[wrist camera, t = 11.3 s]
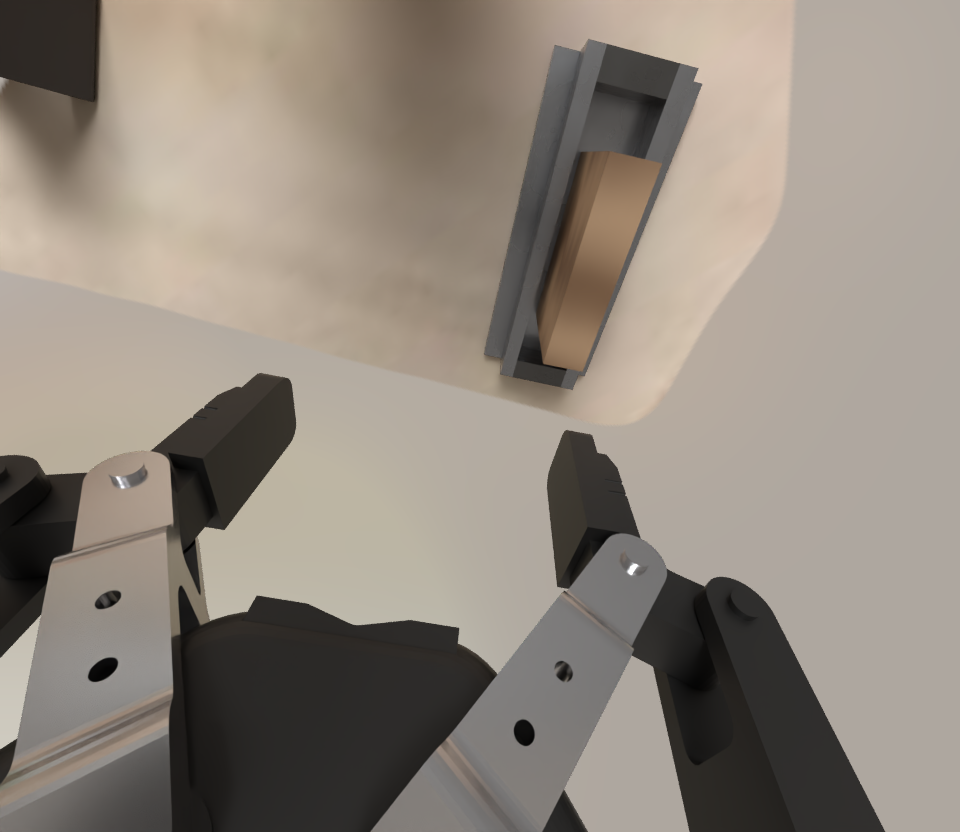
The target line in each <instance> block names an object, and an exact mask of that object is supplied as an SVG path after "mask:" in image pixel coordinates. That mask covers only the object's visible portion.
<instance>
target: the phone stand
mask: <svg viewBox="0 0 960 832" xmlns="http://www.w3.org/2000/svg"><path fill="white" fill-rule="evenodd" d="M95 33H96V0H0V77H3V78H6V79H10V80H14V81H17V82H21V83H25V84H28V85H32V86H36V87H39V88H43V89H47V90H50V91H54V92H58V93H61V94H65V95H69V96H72V97H76V98H80V99H83V100H87V101H91V102H94V73H95Z"/></svg>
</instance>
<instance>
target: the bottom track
mask: <svg viewBox="0 0 960 832" xmlns="http://www.w3.org/2000/svg"><path fill="white" fill-rule="evenodd" d="M697 71H698V68H695V67H691V66H688V65H684V64H680V63H676V62H673V61H669V60H665V59H661V58H658V57H654V56H650V55H646V54H643V53H639V52H635V51H631V50H627V49H624V48H620V47H616V46H612V45H609V44H605V43H601V42H597V41H594V40H590V39H588V41H587V42H586V44H585V45H584V47H583V48H582V49H581V51H576V50H572V49H568V48H564V47H561V46H557V45H555V46H554V49H553V53H552V58H551V62H550V66H549V71H548V75H547V80H546V84H545V88H544V93H543V97H542V101H541V106H540V110H539V115H538V119H537V123H536V128H535V132H534V137H533V141H532V145H531V150H530V154H529V158H528V163H527V167H526V172H525V176H524V180H523V185H522V189H521V193H520V198H519V202H518V207H517V211H516V215H515V220H514V224H513V228H512V233H511V237H510V242H509V246H508V250H507V255H506V259H505V264H504V268H503V272H502V277H501V281H500V285H499V290H498V294H497V299H496V303H495V307H494V312H493V316H492V320H491V325H490V329H489V334H488V338H487V342H486V347H485V352H484V355H489V356H494V357H498V358H501V370H500V374H501V375H506V376H510V377H515V378H520V379H524V380H529V381H534V382H538V383H543V384H548V385H552V386H557V387H562V388H567V389H571V390H573V387H574V385H575V382H576V379H577V377H578V375H582V376H585V374H586V371H587V369H588V366H589V364H590V361H591V359H592V356H593V354H594V351H595V349H596V347H597V344H598V342H599V339H600V337H601V334H602V332H603V329H604V327H605V324H606V322H607V319H608V317H609V314H610V312H611V309H612V307H613V304H614V302H615V299H616V297H617V294H618V292H619V290H620V287H621V285H622V282H623V280H624V277H625V275H626V272H627V270H628V267H629V265H630V262H631V260H632V257H633V255H634V252H635V250H636V247H637V245H638V242H639V240H640V237H641V235H642V232H643V230H644V228H645V225H646V223H647V220H648V218H649V215H650V213H651V210H652V208H653V205H654V203H655V200H656V198H657V195H658V193H659V190H660V188H661V185H662V183H663V180H664V178H665V175H666V173H667V170H668V168H669V166H670V163H671V161H672V158H673V156H674V153H675V151H676V148H677V146H678V143H679V141H680V138H681V136H682V133H683V131H684V128H685V126H686V123H687V121H688V118H689V116H690V113H691V111H692V108H693V106H694V104H695V101H696V99H697V96H698V94H699V91H700V89H701V86H702V84H701V83H697V82H693V81H694V78H695V76H696V73H697ZM594 151H612V152H616V153H620V154H624V155H629V156H633V157H637V158H641V159H646V160H650V161H654V162H658V163H662V166H661V168H660V171H659V174H658V176H657V179H656V181H655V184H654V187H653V189H652V192H651V194H650V197H649V200H648V202H647V205H646V207H645V210H644V213H643V215H642V218H641V221H640V223H639V226H638V228H637V231H636V234H635V236H634V239H633V241H632V244H631V247H630V249H629V252H628V254H627V257H626V260H625V262H624V265H623V268H622V270H621V273H620V275H619V278H618V281H617V283H616V286H615V288H614V291H613V294H612V296H611V299H610V301H609V304H608V307H607V309H606V312H605V315H604V317H603V320H602V322H601V325H600V328H599V330H598V333H597V335H596V338H595V341H594V343H593V346H592V348H591V351H590V354H589V356H588V359H587V362H586V364H585V367H584V369H583V372H581V371H576V370H571V369H566V368H561V367H557V366H552V365H547V364H543V359H542V353H541V346H540V339H539V333H538V326H537V319H536V311H537V308H538V304H539V300H540V297H541V293H542V290H543V286H544V283H545V279H546V275H547V272H548V268H549V265H550V261H551V258H552V254H553V250H554V247H555V243H556V240H557V236H558V233H559V229H560V225H561V222H562V218H563V215H564V211H565V207H566V204H567V200H568V197H569V193H570V190H571V186H572V182H573V179H574V175H575V172H576V168H577V165H578V161H579V157H580V154H581V152H594Z"/></svg>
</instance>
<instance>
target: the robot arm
mask: <svg viewBox="0 0 960 832" xmlns="http://www.w3.org/2000/svg"><path fill="white" fill-rule="evenodd" d="M295 429H296V417H295V409H294V400H293V392H292V384H291V382H290V380H289V379H288V378H284V377H279V376H273V375H268V374H263V373H259V374H257V375H256V376H255V377H253V378H252V379H251V380H250V381H249V382H248V383H247V384H245V385H244V386H243V387H242V388H241V387H235V388H233V389H231V390H228V391H226V392H224V393H221V394H219V395H217V396H216V397H215V398H214V399H213V400H212V401H210V402H209V403H208V404H206V405H205V407H204V409H203V408H202V409H200V410H199V411H198V412H197V413H196V414H194V416H193V418H190V419H188V420H187V421H186V422H185V423H184V424H182V425H181V426H180V427H179V428H178V429H176V430H175V431H174V432H173V433H172V434H170V435H169V436H168V437H167V438H166V439H164V440H163V441H162V442H161V443H160V444H158V445H157V446H156V447H155V448H154V449H152V450H151V451H135V452H129V453H124V454H121V455H117V456H114V457H112V458H109V459H107V460H105V461H103V462H101V463H100V464H98V465H96V466H95V467H94V468H93V469H91V470H90V471H89V472H88V473H74V474H57V475H56V474H55V475H45V473H44V472H43V470H42V468H41V467H40V465H39V464H38V462H37V461H36V460H34V459H33V458H30V457H27V456H19V455H7V456H0V657H2V656H3V654H4V653H5V652H6V651H7V650H8V649H9V648H10V647H11V646H12V645H13V644H14V643H15V642H16V641H17V640H18V638H19V637H20V636H21V635H22V634H23V633H24V632H25V631H26V630H27V629H28V628H29V627H30V626H31V625H32V624H33V623H34V622H35V620H36V619H37V618H38V617H39V616H40V615H41V618H40V624H39V628H38V634H37V639H36V644H35V650H34V655H33V660H32V665H31V670H30V676H29V681H28V686H27V692H26V696H25V702H24V707H23V712H22V717H21V722H20V728H19V733H18V738H17V739H16V740H14V741H13V742H11V743H9V744H8V745H6V746H5V747H3V748H2V749H0V832H588V831H587V829H586V828H585V826H584V824H583V822H582V820H581V819H580V817H579V815H578V813H577V812H576V810H575V808H574V806H573V804H572V803H571V801H570V799H569V797H568V796H567V794H566V792H565V790H564V788H565V786H566V784H567V782H568V780H569V778H570V776H571V774H572V772H573V770H574V768H575V766H576V764H577V762H578V760H579V758H580V756H581V754H582V752H583V750H584V749H585V747H586V745H587V743H588V741H589V739H590V737H591V735H592V733H593V731H594V729H595V727H596V725H597V723H598V721H599V719H600V717H601V715H602V713H603V711H604V709H605V707H606V705H607V703H608V701H609V699H610V697H611V695H612V693H613V691H614V689H615V688H616V685H617V683H618V682H619V680H620V678H621V675H622V673H623V672H624V670H625V668H626V666H627V664H628V662H629V660H630V658H631V656H634V657H636V658H638V659H640V660H642V661H644V662H646V663H648V664H650V665H651V666H653V668H654V673H655V677H656V682H657V686H658V691H659V695H660V700H661V704H662V709H663V714H664V718H665V722H666V727H667V731H668V736H669V741H670V745H671V750H672V754H673V759H674V763H675V768H676V772H677V776H678V781H679V786H680V790H681V795H682V799H683V804H684V808H685V813H686V817H687V822H688V826H689V831H690V832H885V831H884V829H883V827H882V825H881V823H880V821H879V819H878V817H877V815H876V813H875V811H874V809H873V807H872V805H871V803H870V801H869V799H868V798H867V795H866V793H865V791H864V790H863V788H862V786H861V784H860V782H859V780H858V778H857V776H856V774H855V772H854V770H853V768H852V766H851V764H850V762H849V760H848V758H847V756H846V754H845V752H844V750H843V748H842V746H841V744H840V742H839V741H838V739H837V737H836V735H835V733H834V731H833V729H832V727H831V725H830V723H829V721H828V719H827V717H826V715H825V713H824V711H823V709H822V707H821V705H820V703H819V701H818V699H817V697H816V695H815V694H814V692H813V690H812V688H811V686H810V684H809V682H808V680H807V678H806V676H805V674H804V672H803V670H802V668H801V666H800V664H799V662H798V660H797V658H796V656H795V654H794V652H793V650H792V649H791V647H790V645H789V643H788V641H787V639H786V637H785V635H784V633H783V631H782V629H781V627H780V625H779V623H778V621H777V619H776V617H775V615H774V614H773V612H772V610H771V609H770V607H769V606H768V605H767V603H766V602H765V601H764V600H763V599H762V598H761V597H760V596H759V595H758V594H757V593H756V592H755V591H753V590H752V589H751V588H749V587H748V586H746V585H745V584H743V583H741V582H739V581H736V580H734V579H731V578H727V577H716V578H713V579H711V580H710V581H709V582H708V584H707V585H706V586H705V587H704V586H702V585H700V584H697V583H695V582H693V581H691V580H689V579H686V578H684V577H682V576H680V575H678V574H675V573H673V572H672V571H670V570H668V569H666V565H665V563H664V561H663V559H662V557H661V556H660V555H659V553H658V552H657V551H656V550H655V549H654V548H653V547H652V546H651V545H649V544H648V543H647V542H646V541H644V540H642V539H641V538H640V535H639V532H638V529H637V526H636V523H635V520H634V517H633V514H632V511H631V508H630V505H629V502H628V499H627V496H625V494H626V493H625V490H624V487H623V485H622V481H621V478H620V475H619V472H618V469H617V467H616V466H615V465H614V463H613V462H612V461H611V460H610V459H609V457H608V456H607V455H605V454H599V453H597V450H596V447H595V444H594V440H593V437H592V435H590V434H584V433H579V432H574V431H568V430H566V431H565V432H564V433H563V435H562V438H561V440H560V443H559V446H558V448H557V451H556V454H555V456H554V459H553V462H552V464H551V467H550V471H549V474H548V482H547V491H548V501H549V511H550V521H551V530H552V539H553V549H554V559H555V569H556V579H557V587H561V588H567V589H568V591H567V592H565V591H564V592H563V593H561V595H560V596H559V597H558V598H557V599H556V601H555V602H554V603H553V604H552V606H551V607H550V608H549V610H548V611H547V612H546V614H545V615H544V616H543V617H542V619H541V620H540V621H539V622H538V624H537V625H536V626H535V628H534V629H533V630H532V631H531V633H530V634H529V635H528V636H527V638H526V639H525V640H524V642H523V643H522V644H521V645H520V647H519V648H518V649H517V651H516V652H515V653H514V654H513V656H512V657H511V658H510V659H509V661H508V662H507V663H506V665H505V666H504V667H503V668H502V670H501V671H500V672H499V673H498V675H497V673H496V672H495V671H494V670H493V669H492V668H491V667H490V666H489V665H488V664H487V663H486V662H485V661H484V660H483V659H482V658H481V657H479V656H478V655H477V654H476V653H474V652H472V651H471V650H469V649H468V648H466V647H464V646H462V645H460V644H458V635H459V628H456V627H450V626H443V625H437V624H431V623H425V622H419V621H412V620H407V621H398V622H388V623H378V624H369V625H352V624H350V623H347V622H345V621H343V620H341V619H339V618H337V617H335V616H333V615H330V614H328V613H325V612H324V611H322V610H320V609H318V608H316V607H313V606H311V605H309V604H306V603H299V602H294V601H287V600H281V599H275V598H269V597H263V596H256V598H255V600H254V601H253V603H252V605H251V607H250V608H249V610H248V612H242V613H237V614H232V615H227V616H224V617H221V618H218V619H215V620H212V621H210V619H209V615H208V611H207V605H206V598H205V589H204V581H203V572H202V563H201V554H200V546H199V541H198V538H197V536H198V535H199V533H200V532H201V531H202V530H203V529H204V527H209V528H215V529H221V530H225V528H226V527H227V526H228V525H229V523H230V522H231V521H232V519H233V518H234V517H235V515H236V514H237V513H238V511H239V510H240V509H241V507H242V506H243V505H244V503H245V502H246V501H247V500H248V498H249V497H250V496H251V494H252V493H253V492H254V490H255V489H256V488H257V486H258V485H259V484H260V482H261V481H262V480H263V478H264V477H265V476H266V474H267V473H268V472H269V470H270V469H271V468H272V467H273V465H274V464H275V463H276V461H277V460H278V459H279V457H280V456H281V455H282V453H283V452H284V451H285V449H286V448H287V447H288V445H289V444H290V443H291V441H292V439H293V437H294V434H295Z"/></svg>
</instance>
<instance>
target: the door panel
mask: <svg viewBox="0 0 960 832" xmlns="http://www.w3.org/2000/svg"><path fill="white" fill-rule="evenodd" d="M661 166H662V163H658V162H654V161H650V160H646V159H641V158H637V157H633V156H629V155H624V154H620V153H616V152H612V151H594V152H581V154H580V157H579V161H578V165H577V168H576V172H575V175H574V179H573V182H572V186H571V190H570V193H569V197H568V200H567V204H566V207H565V211H564V215H563V218H562V222H561V225H560V229H559V233H558V236H557V240H556V243H555V247H554V250H553V254H552V258H551V261H550V265H549V268H548V272H547V275H546V279H545V283H544V286H543V290H542V293H541V297H540V300H539V304H538V308H537V311H536V319H537V326H538V333H539V339H540V346H541V353H542V359H543V364H547V365H552V366H557V367H561V368H566V369H571V370H576V371H581V372H583V369H584V367H585V364H586V362H587V359H588V356H589V354H590V351H591V348H592V346H593V343H594V341H595V338H596V335H597V333H598V330H599V328H600V325H601V322H602V320H603V317H604V315H605V312H606V309H607V307H608V304H609V301H610V299H611V296H612V294H613V291H614V288H615V286H616V283H617V281H618V278H619V275H620V273H621V270H622V268H623V265H624V262H625V260H626V257H627V254H628V252H629V249H630V247H631V244H632V241H633V239H634V236H635V234H636V231H637V228H638V226H639V223H640V221H641V218H642V215H643V213H644V210H645V207H646V205H647V202H648V200H649V197H650V194H651V192H652V189H653V187H654V184H655V181H656V179H657V176H658V174H659V171H660V168H661Z"/></svg>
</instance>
